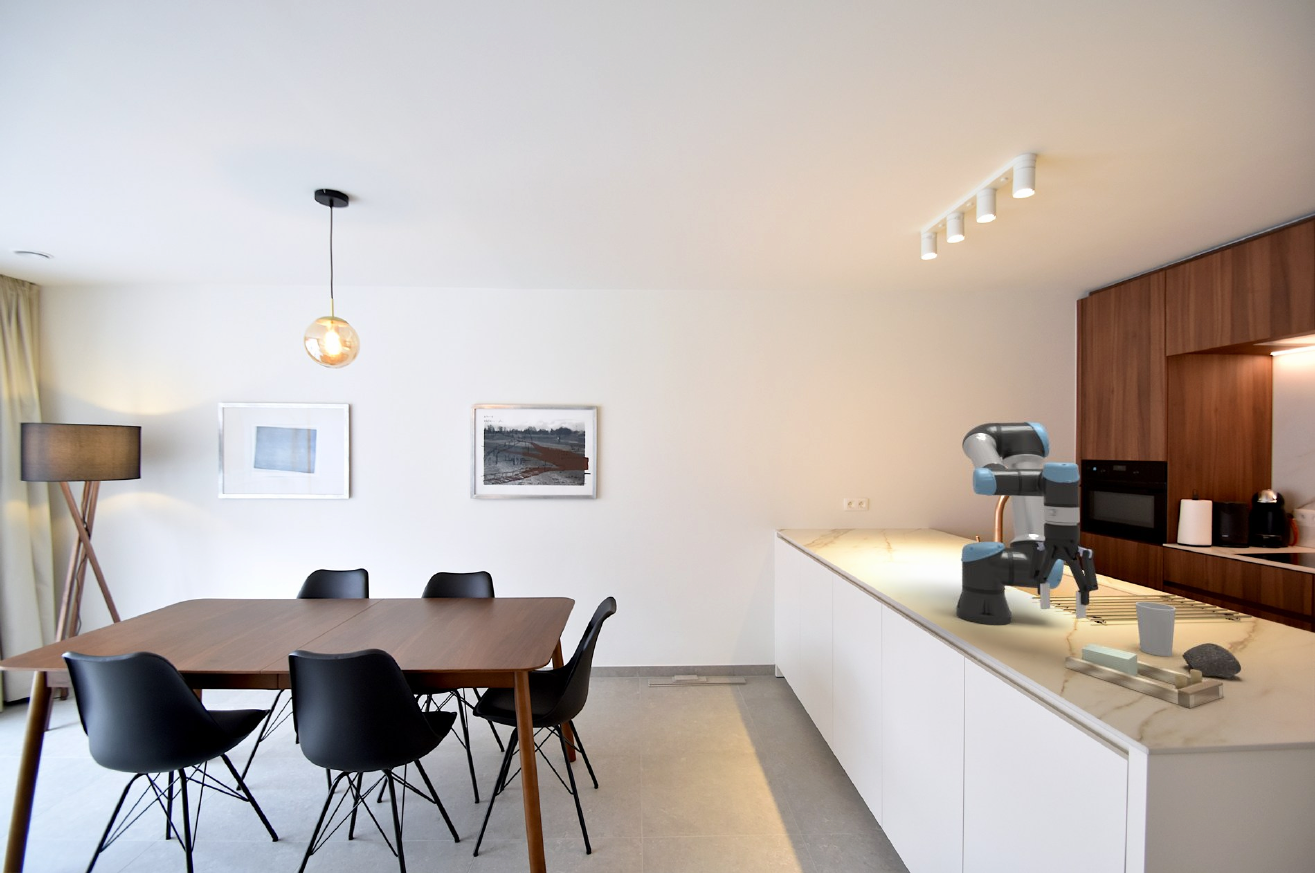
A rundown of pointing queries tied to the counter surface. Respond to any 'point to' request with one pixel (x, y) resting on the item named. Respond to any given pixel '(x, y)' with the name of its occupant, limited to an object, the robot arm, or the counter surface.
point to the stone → (1212, 660)
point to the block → (1111, 658)
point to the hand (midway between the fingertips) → (1062, 612)
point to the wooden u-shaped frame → (1186, 689)
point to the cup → (1155, 627)
